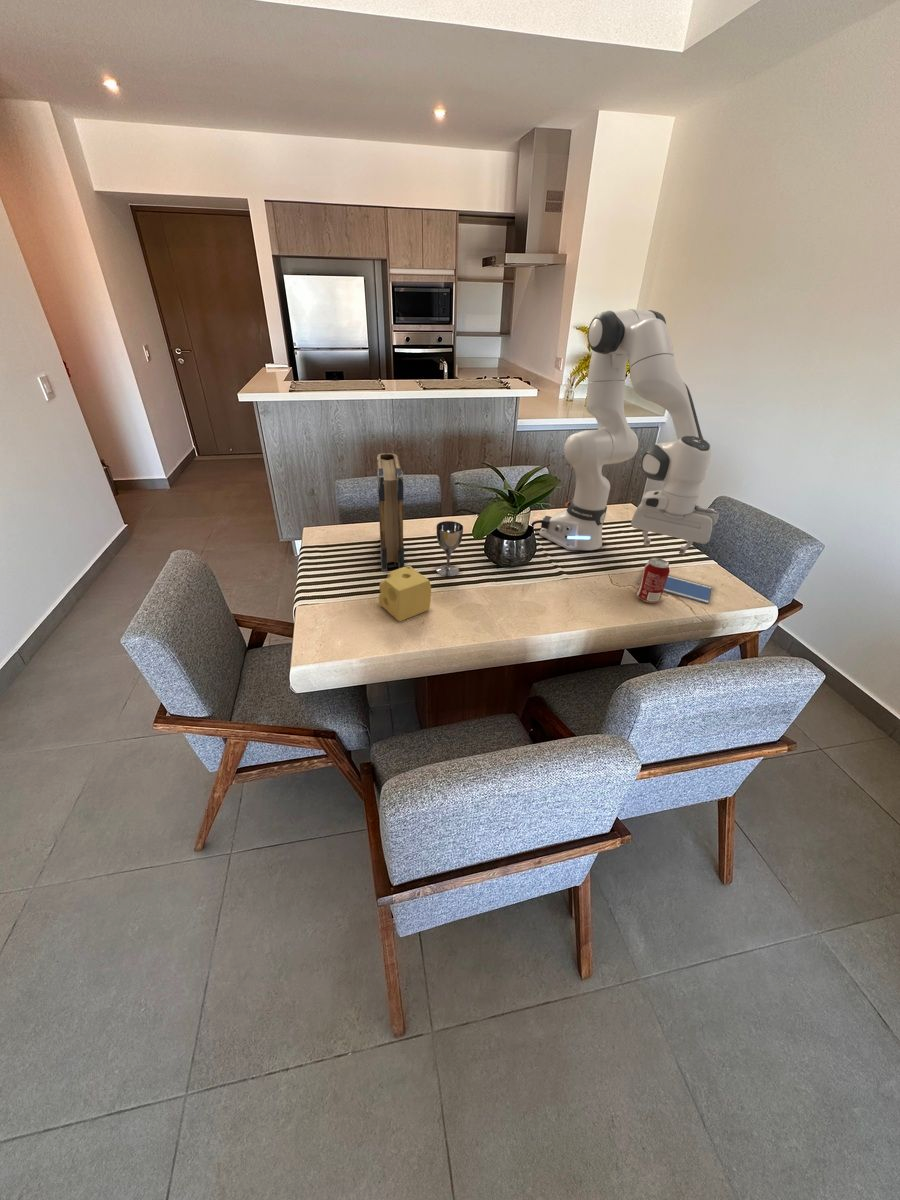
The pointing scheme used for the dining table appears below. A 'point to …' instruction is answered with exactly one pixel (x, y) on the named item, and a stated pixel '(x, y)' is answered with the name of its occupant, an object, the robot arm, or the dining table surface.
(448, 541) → the wine glass
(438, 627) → the dining table surface
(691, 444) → the robot arm
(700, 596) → the blue rectangular panel
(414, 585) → the cheese
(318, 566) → the dining table surface
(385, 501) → the decorative book
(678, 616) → the dining table surface
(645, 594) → the soda can
